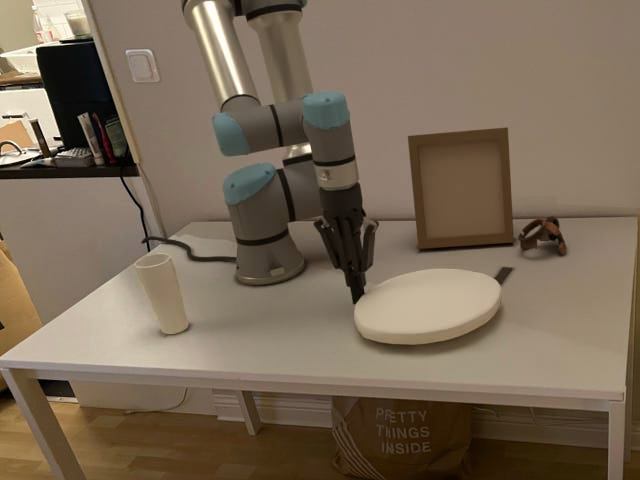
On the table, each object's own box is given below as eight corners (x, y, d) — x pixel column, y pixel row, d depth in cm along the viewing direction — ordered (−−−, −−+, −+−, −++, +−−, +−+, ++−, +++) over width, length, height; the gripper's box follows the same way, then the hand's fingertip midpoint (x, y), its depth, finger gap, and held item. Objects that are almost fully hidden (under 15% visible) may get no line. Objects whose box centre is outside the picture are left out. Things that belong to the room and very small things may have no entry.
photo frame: (514, 246, 162) (508, 134, 149) (418, 252, 164) (404, 143, 151) (512, 222, 174) (507, 117, 161) (424, 228, 176) (411, 125, 163)
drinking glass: (165, 321, 146) (142, 254, 139) (197, 319, 146) (175, 251, 138) (153, 338, 141) (127, 268, 133) (186, 336, 140) (163, 266, 132)
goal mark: (490, 284, 146) (490, 283, 146) (503, 268, 152) (503, 266, 152) (500, 285, 146) (500, 284, 145) (512, 268, 152) (512, 267, 152)
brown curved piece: (563, 263, 153) (542, 234, 149) (528, 275, 159) (507, 247, 155) (578, 229, 160) (558, 200, 156) (544, 241, 166) (524, 214, 162)
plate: (336, 334, 125) (365, 270, 147) (347, 365, 128) (373, 298, 150) (495, 311, 120) (499, 249, 142) (501, 344, 123) (504, 278, 145)
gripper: (297, 189, 128) (321, 306, 140) (360, 192, 123) (379, 313, 135) (319, 176, 134) (340, 290, 146) (380, 178, 129) (397, 296, 141)
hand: (359, 301), depth 141 cm, fingers closed
